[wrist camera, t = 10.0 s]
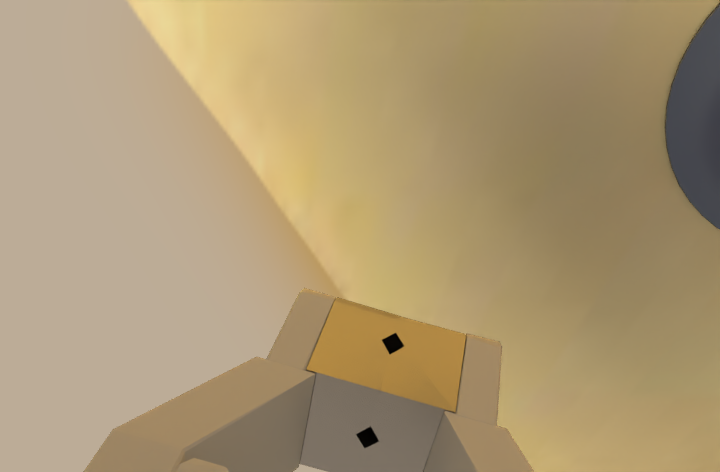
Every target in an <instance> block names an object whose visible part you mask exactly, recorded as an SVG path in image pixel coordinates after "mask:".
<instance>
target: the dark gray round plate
mask: <svg viewBox="0 0 720 472" xmlns="http://www.w3.org/2000/svg"><path fill="white" fill-rule="evenodd" d="M665 129H666V142H667V150H668V154H669V158H670V162H671V166H672V169H673V171H674V173H675V176H676V178H677V181H678V183H679V185H680V187H681V188H682V190H683V192H684V193H685V195H686V196H687V198H688V200H689V201H690V202H691V203H692V205H693V206H694V207H695V208H696V209H697V210H698V211H699V212H700V214H701V215H702V216H703V217H705V218H706V219H707V220H708V221H709V222H711V223H712V224H713V225H714V226H715V227H717V228H718V229H720V4H719V5H718V6H717V7H716V9H715V10H714V11H713V12H712V13H711V14H710V16H709V17H708V18H707V19H706V21H705V22H704V23H703V25H702V26H701V28H700V29H699V31H698V32H697V34H696V35H695V36H694V38H693V39H692V41H691V43H690V45H689V47H688V49H687V50H686V52H685V54H684V56H683V58H682V60H681V62H680V64H679V67H678V69H677V72H676V75H675V78H674V80H673V83H672V86H671V90H670V95H669V99H668V104H667V112H666V125H665Z"/></svg>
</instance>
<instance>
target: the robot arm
mask: <svg viewBox="0 0 720 472" xmlns="http://www.w3.org/2000/svg"><path fill="white" fill-rule="evenodd" d="M501 355H502V346H501V344H500V342H499V341H495V340H491V339H487V338H483V337H479V336H475V335H471V334H466V335H465V334H464V333H460V332H456V331H453V330H449V329H445V328H442V327H438V326H434V325H431V324H427V323H423V322H419V321H416V320H412V319H408V318H405V317H401V316H398V315H395V314H392V313H388V312H385V311H382V310H378V309H375V308H372V307H368V306H365V305H362V304H359V303H355V302H352V301H349V300H345V299H342V298H339V297H337V298H335V297H333V296H330V295H327V294H324V293H320V292H317V291H313V290H310V289H307V288H304V289H303V290H302V291H301V292H300V293H299V295H298V296H297V298H296V300H295V302H294V305H293V307H292V308H291V311H290V313H289V315H288V316H287V318H286V320H285V323H284V325H283V327H282V329H281V331H280V333H279V335H278V337H277V339H276V341H275V343H274V345H273V347H272V349H271V351H270V353H269V355H268V357H267V359H263V358H260V357H255V358H253V359H251V360H249V361H247V362H245V363H243V364H241V365H239V366H237V367H235V368H233V369H231V370H229V371H227V372H225V373H223V374H221V375H219V376H218V377H215V378H213V379H211V380H209V381H208V382H206V383H204V384H202V385H200V386H198V387H196V388H194V389H192V390H190V391H188V392H186V393H184V394H182V395H180V396H178V397H176V398H174V399H172V400H170V401H168V402H166V403H164V404H162V405H160V406H158V407H156V408H154V409H152V410H150V411H148V412H146V413H144V414H142V415H140V416H138V417H137V418H135V419H132V420H131V421H129V422H127V423H125V424H123V425H121V426H119V427H117V428H115V429H113V430H112V432H111V433H110V434H109V436H108V437H107V439H106V440H105V442H104V443H103V444H102V446H101V448H100V449H99V450H98V452H97V453H96V455H95V456H94V457H93V459H92V460H91V462H90V463H89V465H88V466H87V468H86V469H85V471H84V472H293V471H294V470H296V469H297V468H298V467H299V464H302V465H306V466H309V467H313V468H317V469H321V470H324V471H328V472H534V471H533V469H532V467H531V466H530V464H529V463H528V461H527V460H526V458H525V456H524V455H523V453H522V452H521V450H520V449H519V447H518V445H517V444H516V442H515V441H514V439H513V438H512V436H511V434H510V433H509V431H508V430H507V429H506V428H502V427H499V426H497V415H498V400H499V385H500V370H501Z"/></svg>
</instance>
